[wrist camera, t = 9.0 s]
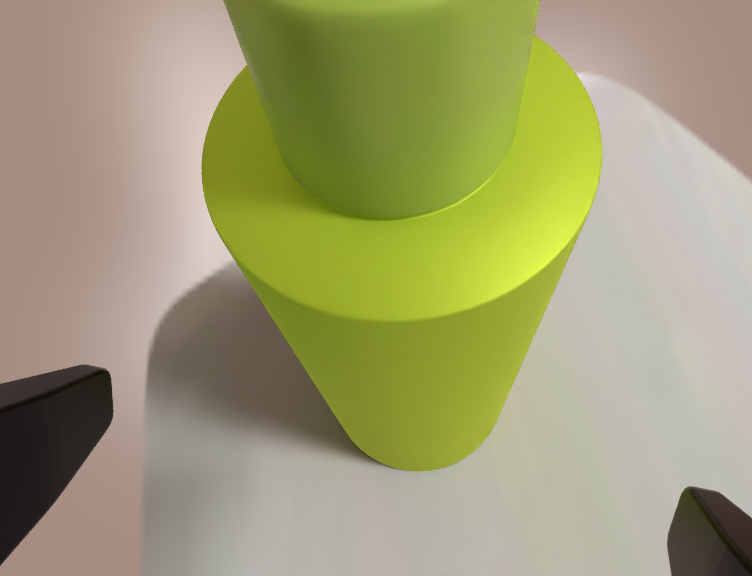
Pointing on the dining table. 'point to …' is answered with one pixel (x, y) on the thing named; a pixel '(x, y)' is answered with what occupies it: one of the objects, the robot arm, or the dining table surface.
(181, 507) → the dining table surface
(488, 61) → the soap dispenser
